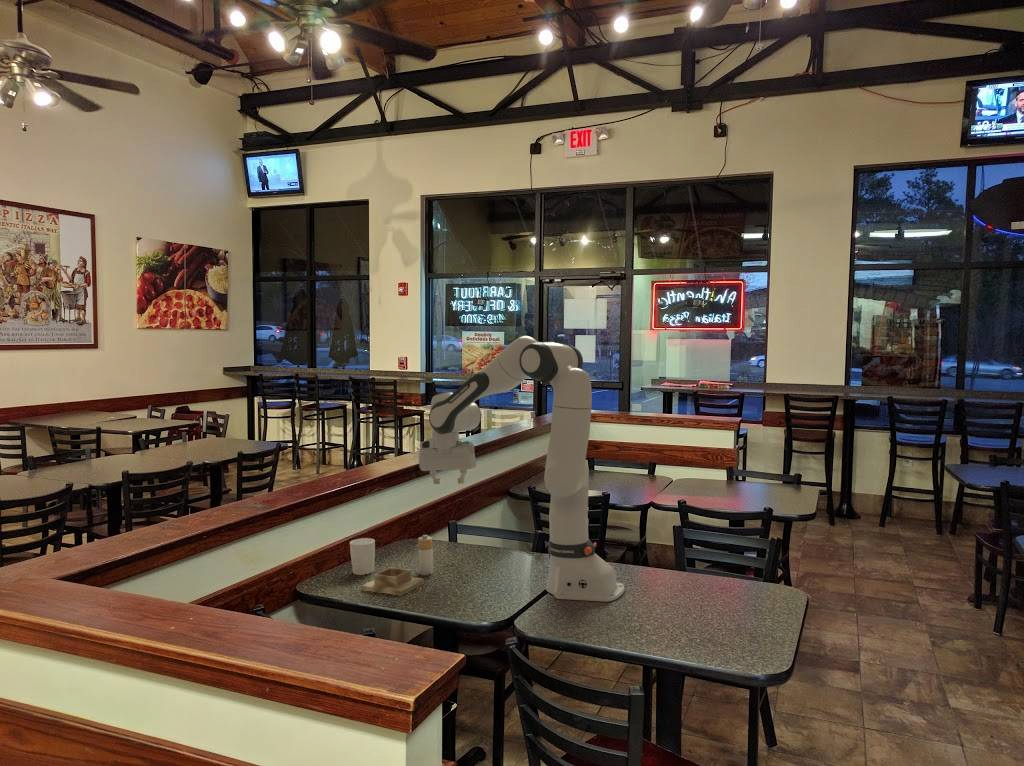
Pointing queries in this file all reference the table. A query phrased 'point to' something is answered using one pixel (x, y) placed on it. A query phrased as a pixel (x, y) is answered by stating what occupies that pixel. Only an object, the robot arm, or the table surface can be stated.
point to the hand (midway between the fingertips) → (448, 483)
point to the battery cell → (425, 555)
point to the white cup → (362, 555)
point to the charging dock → (393, 582)
